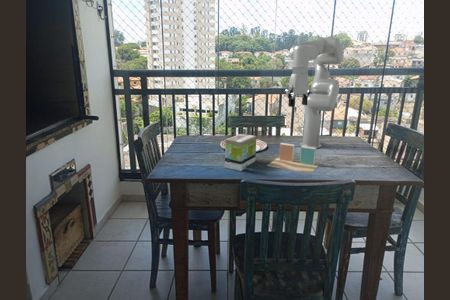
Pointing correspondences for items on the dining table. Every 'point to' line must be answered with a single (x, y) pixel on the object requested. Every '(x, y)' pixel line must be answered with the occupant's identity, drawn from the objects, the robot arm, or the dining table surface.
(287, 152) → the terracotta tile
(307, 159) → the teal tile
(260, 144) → the dinner plate
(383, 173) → the dining table surface
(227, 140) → the tea box
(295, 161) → the striped wooden board
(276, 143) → the dining table surface
